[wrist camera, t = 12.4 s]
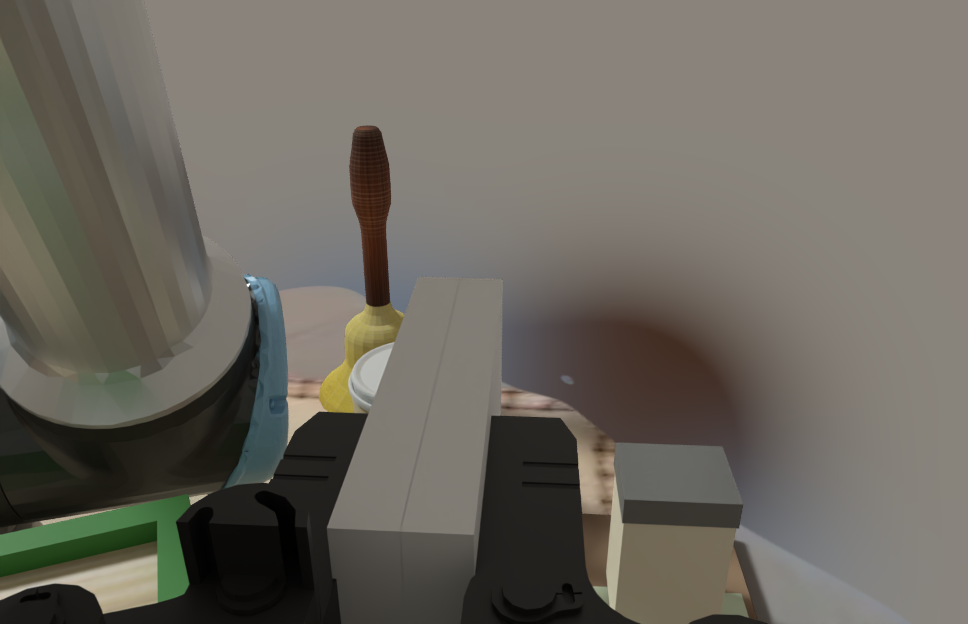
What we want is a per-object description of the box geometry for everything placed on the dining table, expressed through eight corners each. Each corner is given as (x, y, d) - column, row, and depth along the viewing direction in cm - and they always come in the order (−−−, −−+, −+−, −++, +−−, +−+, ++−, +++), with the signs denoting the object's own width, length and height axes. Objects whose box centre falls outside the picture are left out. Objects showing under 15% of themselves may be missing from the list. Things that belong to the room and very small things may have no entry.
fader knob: (718, 641, 45) (743, 504, 41) (611, 635, 45) (624, 499, 41) (701, 575, 50) (722, 446, 45) (604, 570, 50) (615, 442, 46)
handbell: (472, 399, 73) (470, 132, 62) (350, 440, 67) (324, 153, 56) (410, 347, 82) (399, 108, 71) (299, 379, 76) (269, 123, 65)
